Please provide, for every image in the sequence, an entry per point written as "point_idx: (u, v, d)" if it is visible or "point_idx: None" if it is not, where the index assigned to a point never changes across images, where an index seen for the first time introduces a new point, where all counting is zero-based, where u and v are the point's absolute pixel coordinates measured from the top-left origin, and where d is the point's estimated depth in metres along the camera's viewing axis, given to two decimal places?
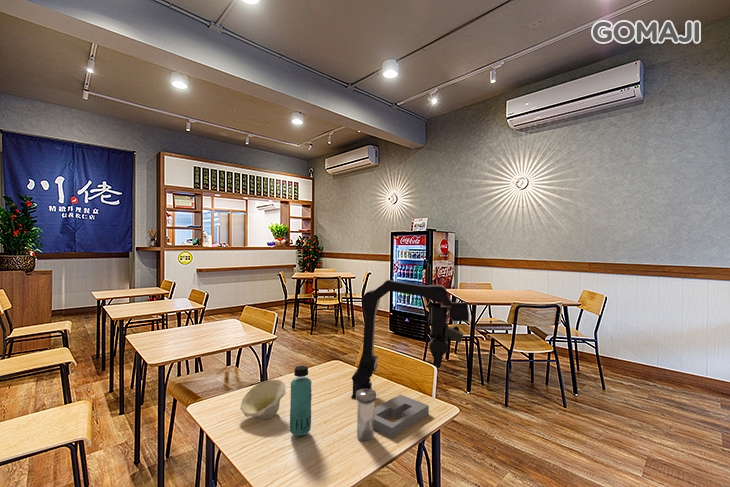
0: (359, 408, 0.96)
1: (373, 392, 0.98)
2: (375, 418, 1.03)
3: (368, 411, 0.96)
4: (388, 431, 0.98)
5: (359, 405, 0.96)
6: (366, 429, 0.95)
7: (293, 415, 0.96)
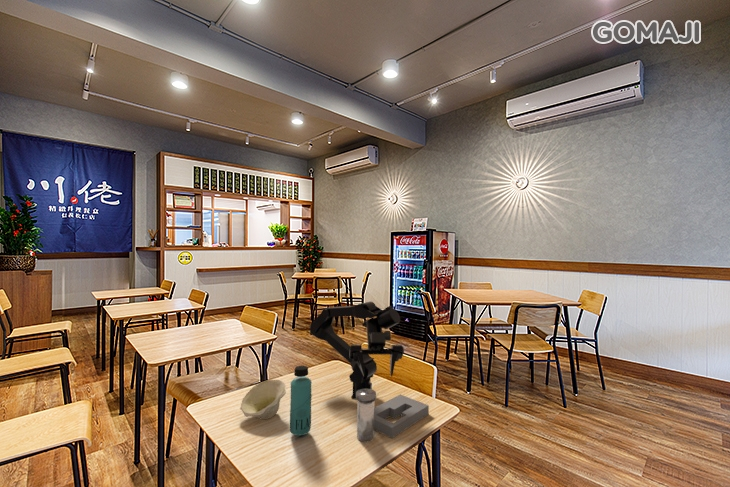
0: (359, 408, 0.96)
1: (373, 392, 0.98)
2: (375, 418, 1.03)
3: (368, 411, 0.96)
4: (388, 431, 0.98)
5: (359, 405, 0.96)
6: (366, 429, 0.95)
7: (293, 415, 0.96)
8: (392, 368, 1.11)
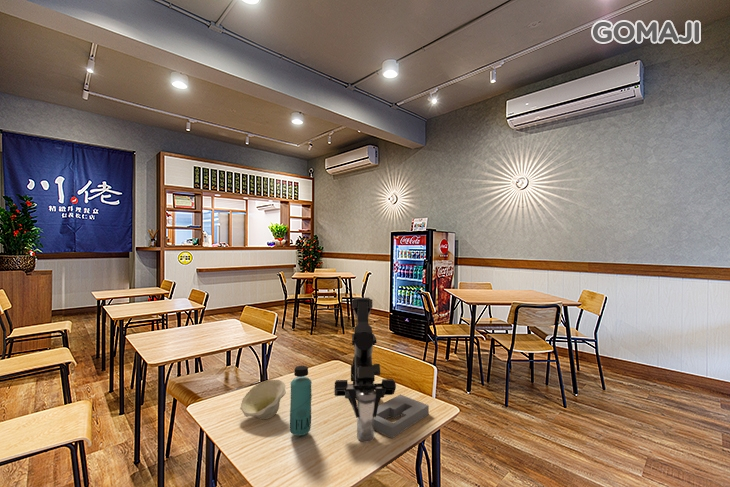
0: (359, 408, 0.96)
1: (373, 392, 0.98)
2: (375, 418, 1.03)
3: (368, 411, 0.96)
4: (388, 431, 0.98)
5: (359, 405, 0.96)
6: (366, 429, 0.95)
7: (293, 415, 0.96)
8: (376, 407, 0.98)
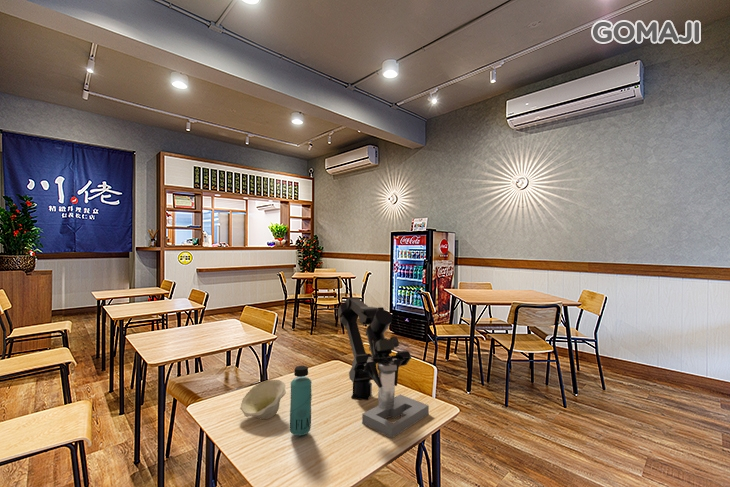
0: (382, 378, 1.01)
1: (393, 363, 1.04)
2: (375, 418, 1.03)
3: (391, 380, 1.01)
4: (388, 431, 0.98)
5: (382, 376, 1.01)
6: (389, 398, 1.01)
7: (293, 415, 0.96)
8: (396, 377, 1.04)
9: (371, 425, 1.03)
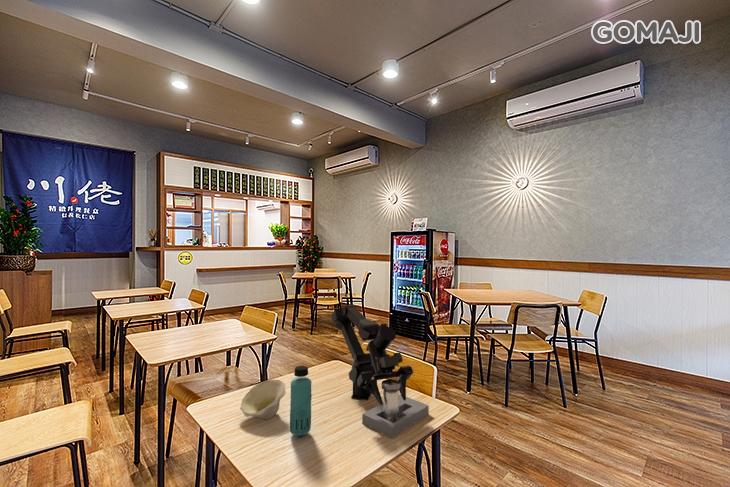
0: (387, 397, 1.03)
1: (397, 381, 1.07)
2: (375, 418, 1.03)
3: (395, 398, 1.03)
4: (388, 431, 0.98)
5: (387, 395, 1.03)
6: (394, 416, 1.03)
7: (293, 415, 0.96)
8: (404, 392, 1.07)
9: (371, 425, 1.03)
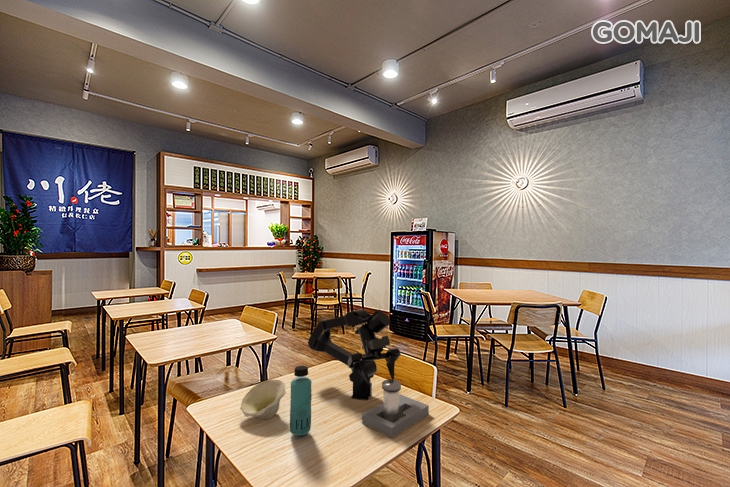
0: (387, 398, 1.03)
1: (397, 381, 1.07)
2: (375, 418, 1.03)
3: (396, 399, 1.03)
4: (388, 431, 0.98)
5: (387, 395, 1.03)
6: (395, 416, 1.03)
7: (293, 415, 0.96)
8: (393, 371, 1.15)
9: (371, 425, 1.03)
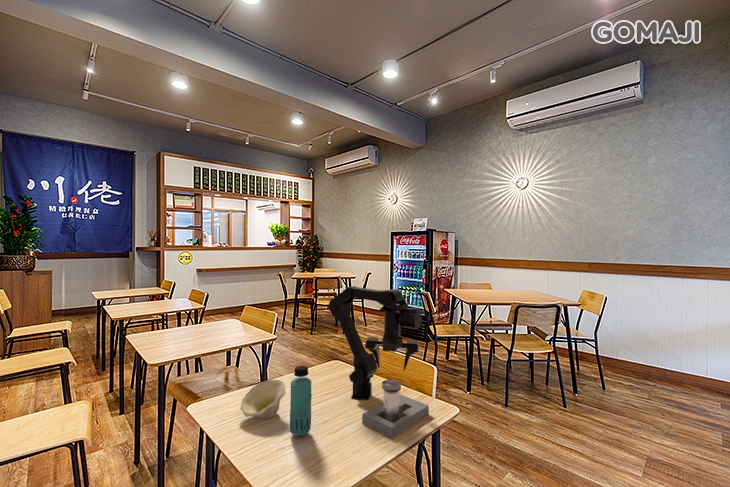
0: (387, 398, 1.03)
1: (397, 381, 1.07)
2: (375, 418, 1.03)
3: (396, 399, 1.03)
4: (388, 431, 0.98)
5: (387, 395, 1.03)
6: (395, 416, 1.03)
7: (293, 415, 0.96)
8: (405, 364, 1.16)
9: (371, 425, 1.03)
